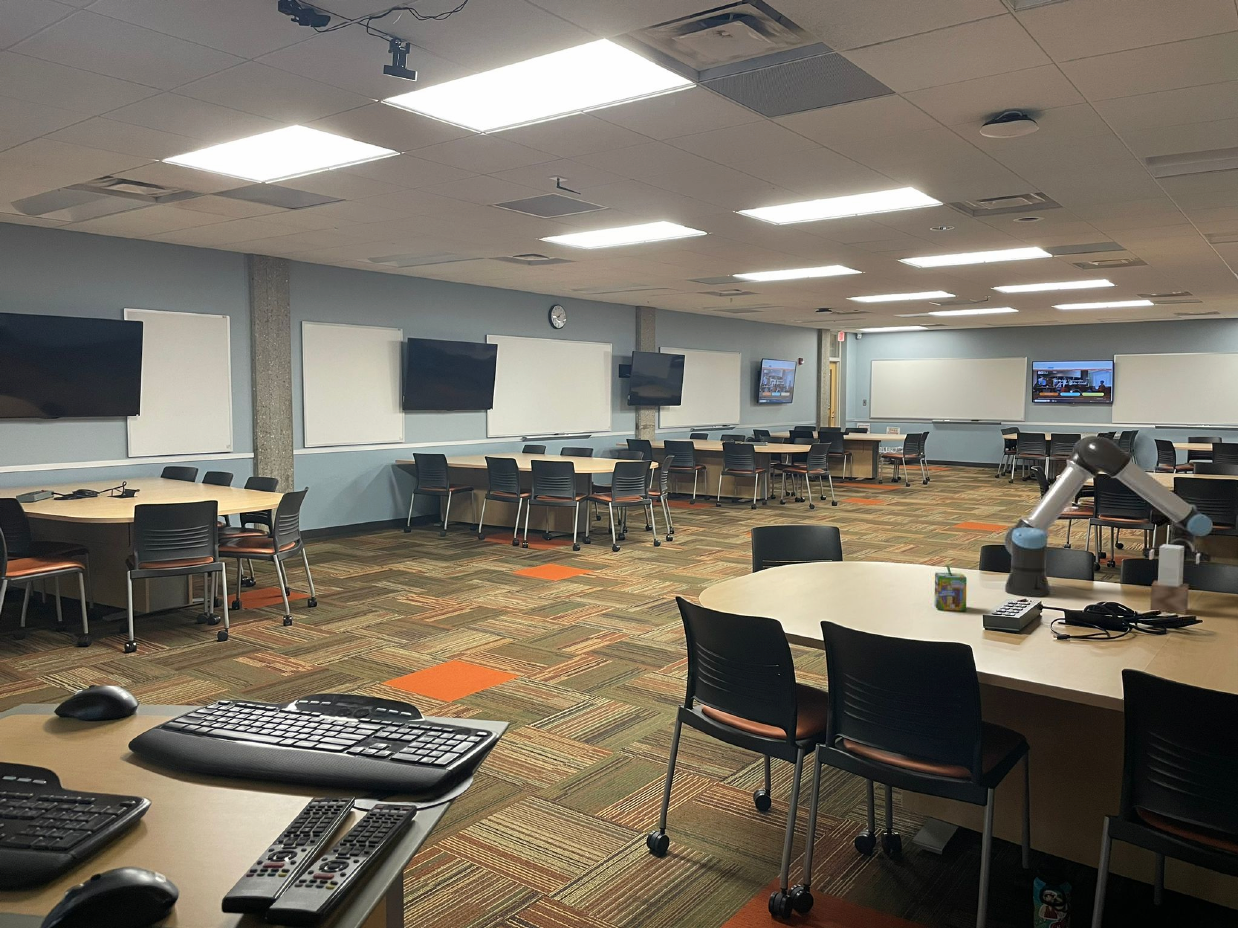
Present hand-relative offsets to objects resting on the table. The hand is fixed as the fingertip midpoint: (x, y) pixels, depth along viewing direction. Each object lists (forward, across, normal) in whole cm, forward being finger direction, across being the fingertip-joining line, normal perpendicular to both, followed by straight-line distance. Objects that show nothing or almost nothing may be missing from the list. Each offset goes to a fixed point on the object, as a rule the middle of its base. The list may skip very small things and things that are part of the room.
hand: (1173, 557), depth 307 cm
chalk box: (+47, +60, -18) cm, 78 cm away
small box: (+2, 0, -9) cm, 9 cm away
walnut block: (+2, 0, -18) cm, 18 cm away
